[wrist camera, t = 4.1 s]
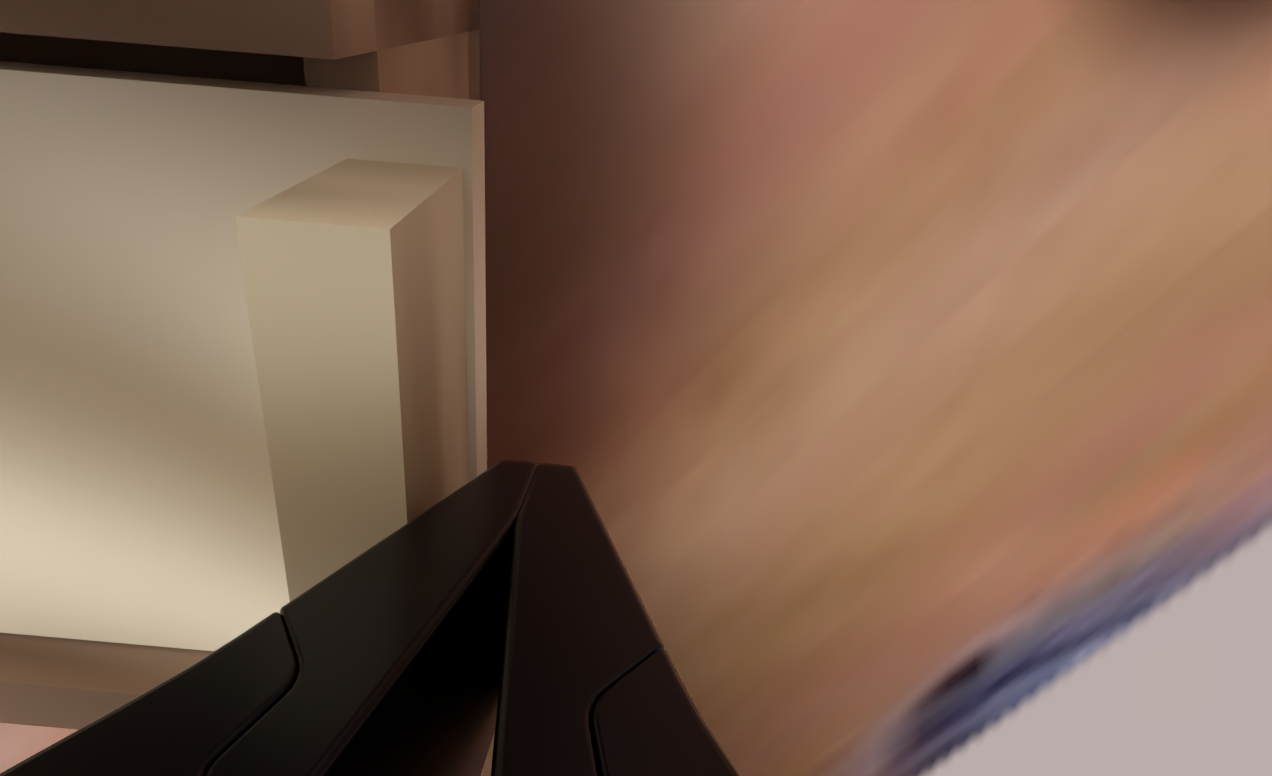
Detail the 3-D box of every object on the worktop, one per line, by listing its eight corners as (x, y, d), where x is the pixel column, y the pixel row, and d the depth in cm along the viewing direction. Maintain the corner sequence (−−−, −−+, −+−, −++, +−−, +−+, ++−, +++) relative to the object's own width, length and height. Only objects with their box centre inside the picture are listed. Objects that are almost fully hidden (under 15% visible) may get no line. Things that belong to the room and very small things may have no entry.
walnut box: (484, 508, 17) (392, 757, 12) (-37, 463, 17) (-376, 689, 12) (478, -27, 13) (327, -38, 7) (-219, -83, 13) (-896, -137, 7)
